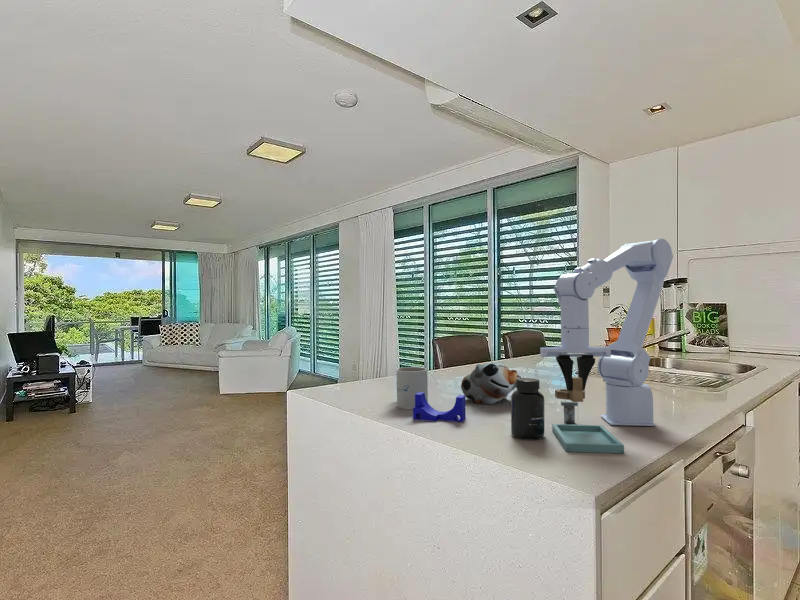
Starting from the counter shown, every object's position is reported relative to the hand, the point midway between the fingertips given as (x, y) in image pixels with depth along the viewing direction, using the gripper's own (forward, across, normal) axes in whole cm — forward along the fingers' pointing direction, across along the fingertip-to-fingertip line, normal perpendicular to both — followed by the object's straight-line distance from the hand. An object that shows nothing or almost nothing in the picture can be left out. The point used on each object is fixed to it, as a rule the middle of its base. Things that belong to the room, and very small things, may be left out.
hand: (575, 389), depth 98 cm
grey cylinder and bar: (+9, 0, -6) cm, 11 cm away
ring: (+2, 0, -3) cm, 4 cm away
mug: (+9, +38, -25) cm, 46 cm away
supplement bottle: (+9, +11, +4) cm, 15 cm away
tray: (+9, 0, +8) cm, 12 cm away
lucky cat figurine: (+9, +15, -30) cm, 34 cm away
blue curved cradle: (+9, +30, -9) cm, 33 cm away
